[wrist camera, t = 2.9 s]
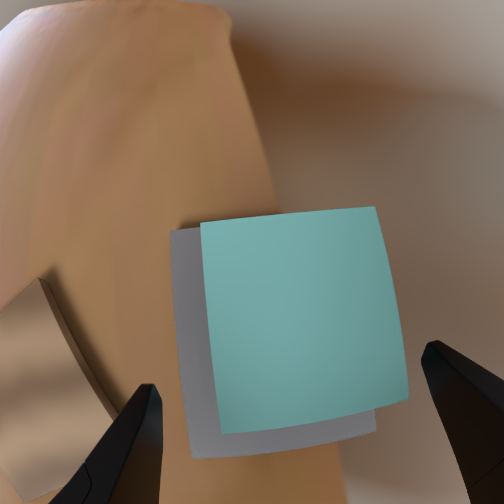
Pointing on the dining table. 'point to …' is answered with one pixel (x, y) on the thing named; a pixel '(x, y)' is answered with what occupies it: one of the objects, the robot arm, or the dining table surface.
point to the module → (301, 318)
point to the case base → (202, 376)
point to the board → (45, 396)
